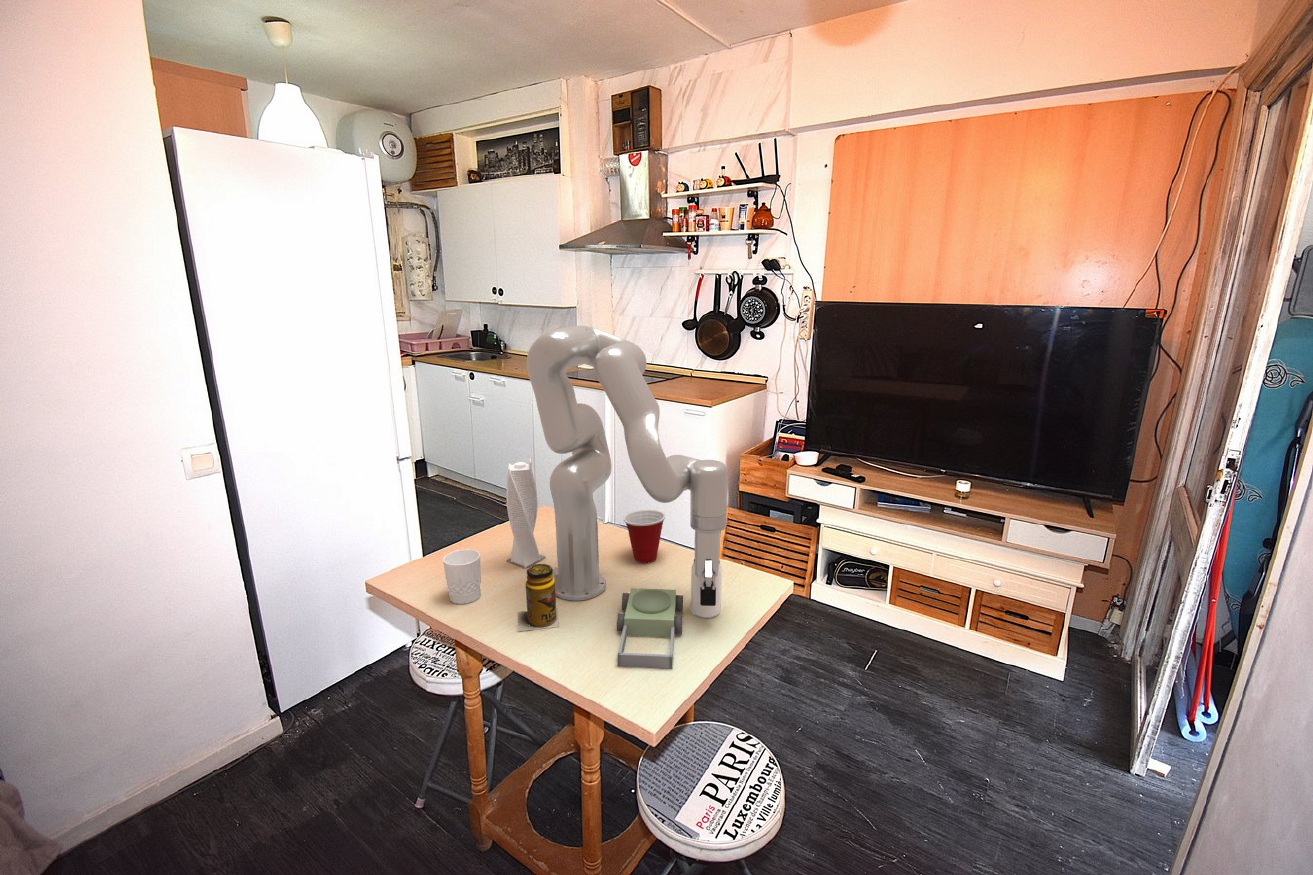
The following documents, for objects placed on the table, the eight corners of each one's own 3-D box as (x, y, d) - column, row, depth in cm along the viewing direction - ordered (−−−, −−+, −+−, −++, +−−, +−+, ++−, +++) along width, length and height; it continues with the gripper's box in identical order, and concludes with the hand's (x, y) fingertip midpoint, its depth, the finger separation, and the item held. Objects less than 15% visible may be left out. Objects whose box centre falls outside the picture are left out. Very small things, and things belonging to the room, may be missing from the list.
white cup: (466, 584, 136) (463, 546, 134) (490, 593, 133) (487, 553, 130) (439, 599, 130) (435, 559, 127) (464, 609, 126) (460, 568, 123)
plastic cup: (639, 545, 157) (639, 504, 154) (673, 555, 151) (673, 513, 148) (615, 560, 148) (614, 517, 145) (649, 572, 143) (649, 527, 140)
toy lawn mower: (609, 665, 108) (609, 642, 106) (623, 603, 128) (623, 583, 127) (680, 668, 107) (680, 645, 105) (683, 606, 127) (683, 585, 126)
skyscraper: (549, 559, 149) (544, 455, 142) (526, 572, 142) (520, 464, 135) (526, 551, 153) (520, 450, 146) (503, 563, 147) (495, 458, 140)
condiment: (559, 627, 120) (557, 574, 117) (517, 632, 118) (514, 579, 115) (557, 608, 127) (554, 558, 124) (517, 613, 125) (514, 562, 122)
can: (718, 620, 122) (720, 569, 119) (688, 617, 123) (689, 566, 120) (721, 604, 128) (723, 555, 125) (692, 601, 129) (693, 552, 126)
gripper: (690, 503, 129) (690, 573, 133) (689, 536, 112) (689, 614, 116) (724, 504, 128) (723, 574, 133) (728, 536, 112) (727, 615, 116)
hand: (707, 592), depth 124 cm, fingers open, 9 cm apart
